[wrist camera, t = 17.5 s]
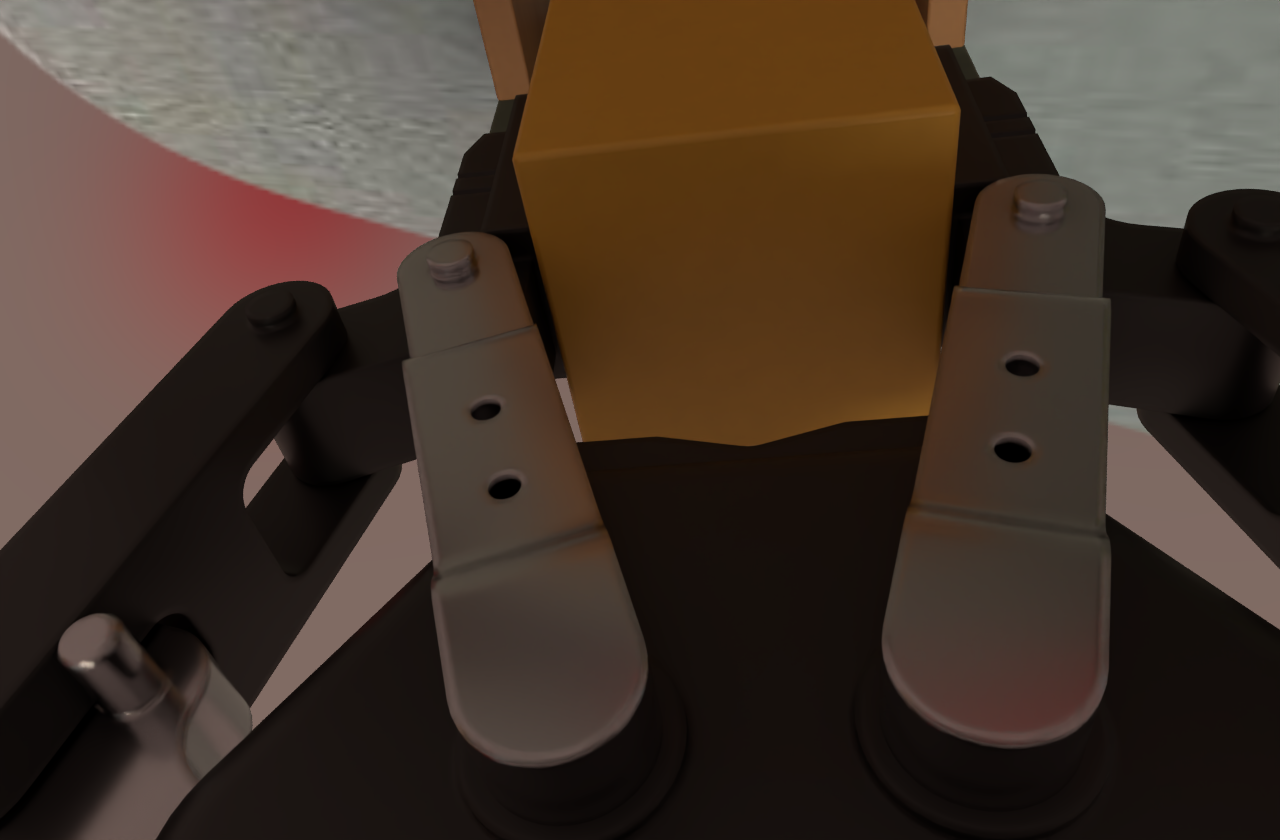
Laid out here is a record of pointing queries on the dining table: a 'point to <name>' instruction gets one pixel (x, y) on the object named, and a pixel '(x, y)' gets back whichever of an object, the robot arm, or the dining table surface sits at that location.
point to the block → (740, 212)
